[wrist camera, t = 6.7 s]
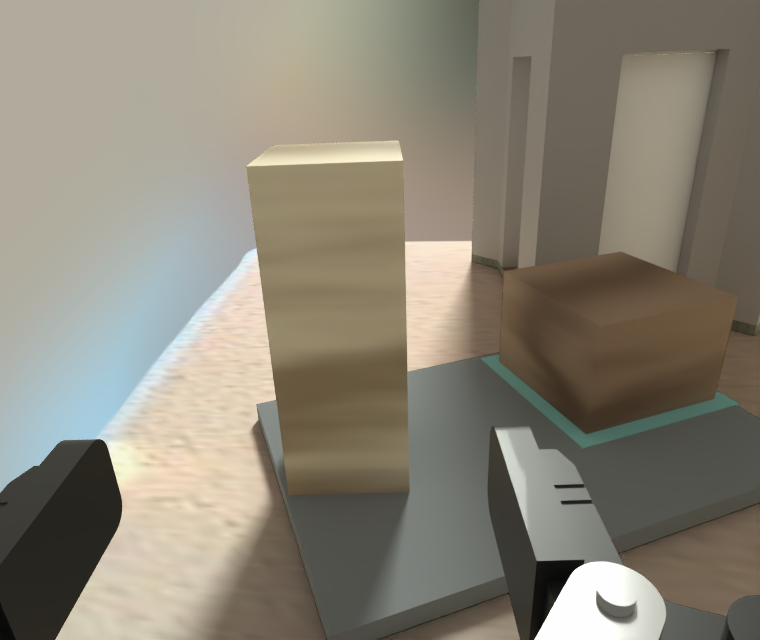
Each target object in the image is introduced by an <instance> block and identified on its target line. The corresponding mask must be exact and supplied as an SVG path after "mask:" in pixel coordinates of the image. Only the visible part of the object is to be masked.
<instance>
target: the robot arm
mask: <svg viewBox="0 0 760 640" xmlns="http://www.w3.org/2000/svg"><path fill="white" fill-rule="evenodd" d="M487 491H488V505H489V513H490V518H491V522H492V526H493V530H494V534H495V538H496V542H497V546H498V550H499V555H500V559H501V563H502V567H503V571H504V575H505V579H506V583H507V587H508V591H509V595H510V599H511V603H512V608H513V612H514V616H515V620H516V624H517V628H518V632H519V636H520V640H760V596H759V595H757V596H747V597H743V598H741V599H738V600H737V601H735V602H734V603H733V604H732V605H731V607H730V608H729V611H728V615H727V616H723V615H719V614H714V613H710V612H706V611H702V610H698V609H694V608H690V607H685V606H681V605H678V604H675V603H672V602H669V601H667V600H664V599H662V597H661V595H660V593H659V592H658V590H657V589H656V588H655V587H654V585H653V584H652V583H651V582H650V581H648V580H647V579H646V578H645V577H644V576H642V575H641V574H639V573H638V572H636V571H634V570H632V569H630V568H628V567H625V566H624V565H623V563H622V561H621V559H620V557H619V555H618V553H617V551H616V549H615V547H614V545H613V543H612V541H611V538H610V536H609V534H608V532H607V530H606V528H605V526H604V524H603V522H602V520H601V518H600V516H599V514H598V512H597V510H596V508H595V506H594V504H592V499H591V497H590V495H589V493H588V491H587V489H586V488H584V483H583V481H582V479H581V477H580V475H579V473H578V471H577V469H576V467H575V465H574V464H573V463H572V462H571V461H570V460H568V459H567V458H566V457H565V456H564V455H563V454H562V453H560V452H559V451H558V450H557V449H540V450H539V448H538V446H537V443H536V441H535V439H534V436H533V434H532V431H531V429H530V427H529V426H528V425H514V426H492V427H491V431H490V445H489V465H488V486H487ZM121 514H122V499H121V495H120V491H119V487H118V484H117V480H116V476H115V473H114V469H113V465H112V462H111V458H110V455H109V451H108V448H107V445H106V444H105V442H104V441H103V440H100V439H95V440H64V441H61V442H60V443H58V444H57V445H56V447H55V448H54V449H53V450H52V451H51V452H50V454H49V455H48V456H47V457H46V459H45V460H44V461H43V462H42V463H41V464H40V466H33V467H32V468H31V469H29V470H28V471H26V472H25V473H23V474H22V475H20V476H19V477H17V478H16V479H14V480H13V481H11V482H10V483H9V484H8V485H7V486H6V487H5V488H4V490H3V491H2V492H1V493H0V640H55V639H56V637H57V635H58V634H59V632H60V630H61V628H62V626H63V625H64V623H65V621H66V619H67V618H68V616H69V614H70V612H71V610H72V609H73V607H74V605H75V603H76V602H77V600H78V598H79V596H80V594H81V593H82V591H83V589H84V587H85V586H86V584H87V582H88V580H89V578H90V577H91V575H92V573H93V571H94V570H95V568H96V566H97V564H98V562H99V561H100V559H101V557H102V555H103V554H104V552H105V550H106V548H107V546H108V545H109V543H110V541H111V539H112V538H113V536H114V534H115V532H116V530H117V528H118V526H119V523H120V520H121Z"/></svg>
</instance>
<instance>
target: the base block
mask: <svg viewBox="0 0 760 640" xmlns="http://www.w3.org/2000/svg"><path fill="white" fill-rule="evenodd" d="M737 300H738V297H737V296H735V295H732V294H729V293H727V292H724V291H722V290H719V289H717V288H714V287H711V286H709V285H706V284H704V283H701V282H698V281H696V280H693V279H691V278H688V277H686V276H683V275H680V274H678V273H675V272H673V271H670V270H667V269H665V268H662V267H660V266H657V265H654V264H652V263H649V262H647V261H644V260H642V259H639V258H636V257H634V256H631V255H629V254H626V253H623V252H615V253H609V254H603V255H597V256H591V257H585V258H579V259H573V260H567V261H561V262H555V263H549V264H543V265H537V266H531V267H526V268H520V269H514V270H508V271H504V280H503V298H502V317H501V335H500V353H499V362H500V363H501V364H503V365H504V366H505V367H506V368H507V369H508V370H510V371H511V372H512V373H513V374H514V375H516V376H517V377H518V378H519V379H520V380H522V381H523V382H524V383H525V384H526V385H528V386H529V387H530V388H531V389H532V390H534V391H535V392H536V393H537V394H538V395H540V396H541V397H542V398H543V399H544V400H545V401H547V402H548V403H549V404H550V405H551V406H553V407H554V408H555V409H556V410H557V411H559V412H560V413H561V414H562V415H563V416H565V417H566V418H567V419H568V420H569V421H571V422H572V423H573V424H574V425H575V426H577V427H578V428H579V429H580V430H581V431H582V432H584V433H585V434H590V433H593V432H597V431H601V430H604V429H608V428H611V427H615V426H619V425H622V424H626V423H629V422H633V421H637V420H640V419H644V418H647V417H651V416H655V415H658V414H662V413H665V412H669V411H673V410H676V409H680V408H683V407H687V406H691V405H694V404H698V403H701V402H705V401H709V400H712V399H714V398H715V394H716V389H717V385H718V381H719V377H720V372H721V368H722V364H723V360H724V355H725V351H726V347H727V342H728V338H729V334H730V330H731V325H732V321H733V317H734V313H735V308H736V304H737Z"/></svg>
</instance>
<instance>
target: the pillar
mask: <svg viewBox="0 0 760 640" xmlns="http://www.w3.org/2000/svg"><path fill="white" fill-rule="evenodd" d="M246 168H247V175H248V183H249V191H250V199H251V207H252V214H253V222H254V230H255V237H256V246H257V254H258V261H259V269H260V277H261V285H262V293H263V300H264V308H265V316H266V324H267V331H268V339H269V347H270V355H271V363H272V370H273V378H274V386H275V394H276V401H277V409H278V417H279V425H280V433H281V440H282V448H283V456H284V464H285V471H286V479H287V487H288V495H289V496H291V495H325V494H359V493H393V492H410V487H409V436H408V385H407V334H406V283H405V236H404V235H405V234H404V233H405V232H404V184H403V158H402V154H401V149H400V145H399V141H376V142H375V141H374V142H350V143H349V142H348V143H322V144H296V145H273V146H271V147H270V148H269V149H267V150H266V151H265V152H264V153H263V154H261V155H260V156H259V157H258V158H256V159H255V160H254V161H252V162H251V163H250V164H249V165H247V166H246Z"/></svg>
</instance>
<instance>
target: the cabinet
mask: <svg viewBox="0 0 760 640" xmlns="http://www.w3.org/2000/svg"><path fill="white" fill-rule="evenodd" d="M478 30H479V31H478V61H477V94H476V96H477V97H476V129H475V164H474V196H473V230H472V262H475V263H479V264H482V265H486V266H490V267H494V268H498V269H499V271H500V273H501V275H502V277H503V279H504V271H508V270H514V269H520V268H526V267H531V266H537V265H543V264H549V263H555V262H561V261H567V260H573V259H579V258H585V257H591V256H597V255H603V254H609V253H615V252H623V253H626V254H629V255H631V256H634V257H636V258H639V259H642V260H644V261H647V262H649V263H652V264H654V265H657V266H660V267H662V268H665V269H667V270H670V271H673V272H675V273H678V274H680V275H683V276H686V277H688V278H691V279H693V280H696V281H698V282H701V283H704V284H706V285H709V286H711V287H714V288H717V289H719V290H722V291H724V292H727V293H729V294H732V295H735V296H737V297H738V300H737V304H736V308H735V313H734V317H733V321H732V325H731V330H734V331H738V332H741V333H745V334H749V335H753V336H755V335H756V334H757V333H758V332H759V331H760V0H479V28H478ZM706 52H714V53H706ZM681 53H691V54H681ZM657 54H667V55H657ZM632 55H642V56H632Z"/></svg>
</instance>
